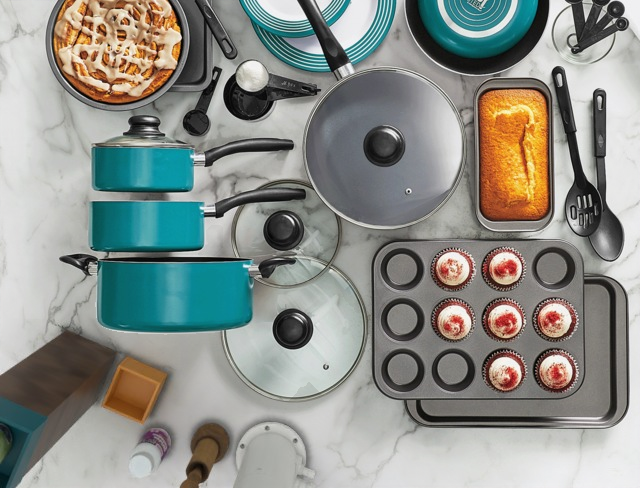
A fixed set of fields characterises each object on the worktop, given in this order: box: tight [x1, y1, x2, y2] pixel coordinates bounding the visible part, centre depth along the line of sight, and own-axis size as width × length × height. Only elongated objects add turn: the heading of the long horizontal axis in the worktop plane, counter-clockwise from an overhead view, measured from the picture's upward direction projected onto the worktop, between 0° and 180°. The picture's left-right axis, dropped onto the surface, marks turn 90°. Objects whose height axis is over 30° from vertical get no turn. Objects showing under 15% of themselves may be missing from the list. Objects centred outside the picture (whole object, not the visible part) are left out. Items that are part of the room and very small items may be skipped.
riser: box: [0, 329, 118, 478], centre depth 108 cm, size 10×10×28 cm
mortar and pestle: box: [179, 422, 230, 488], centre depth 113 cm, size 7×6×18 cm
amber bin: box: [100, 356, 169, 425], centre depth 120 cm, size 8×8×4 cm
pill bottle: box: [127, 427, 172, 480], centre depth 118 cm, size 5×5×10 cm
